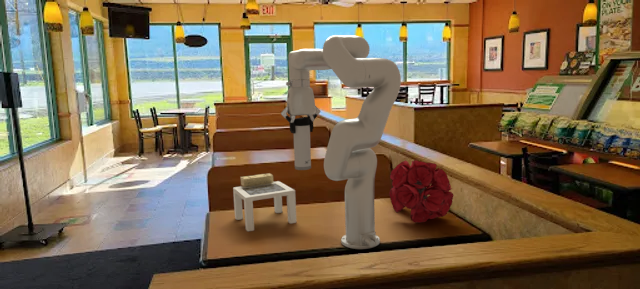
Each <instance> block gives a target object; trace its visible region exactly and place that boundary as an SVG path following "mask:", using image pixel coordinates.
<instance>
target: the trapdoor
mask: <svg viewBox="0 0 640 289" xmlns="http://www.w3.org/2000/svg"><path fill="white" fill-rule="evenodd" d="M274 182H275V181H274V175H273V174H272V173H270V172H269V173H261V174H260V173H259V174H254V175H246V176H240V186H244V187H247V186H254V185H261V184H268V183H274ZM243 190H244V191H246V192H247V193H248V194H249V195H255V194H262V193H268V192H275V191H282V190H284V189H283V188H281V187H279V186H278V185H276V184H270V185H263V186H256V187H249V188H243Z"/></svg>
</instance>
